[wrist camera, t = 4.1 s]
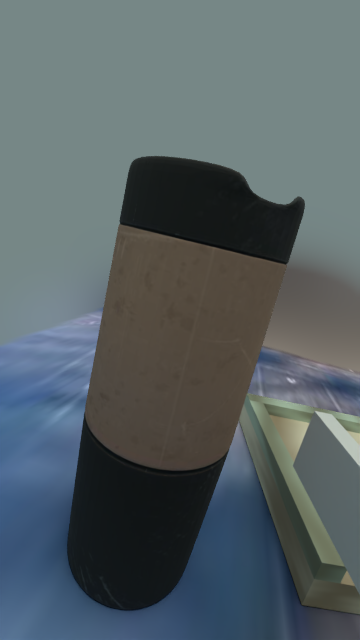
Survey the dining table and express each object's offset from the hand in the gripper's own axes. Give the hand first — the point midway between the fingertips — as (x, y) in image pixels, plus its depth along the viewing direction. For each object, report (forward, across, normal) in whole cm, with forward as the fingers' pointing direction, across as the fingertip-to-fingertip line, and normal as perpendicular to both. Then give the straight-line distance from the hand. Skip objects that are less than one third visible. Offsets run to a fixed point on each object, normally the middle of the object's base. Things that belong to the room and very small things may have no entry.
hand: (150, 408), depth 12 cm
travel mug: (+3, +1, -11) cm, 12 cm away
